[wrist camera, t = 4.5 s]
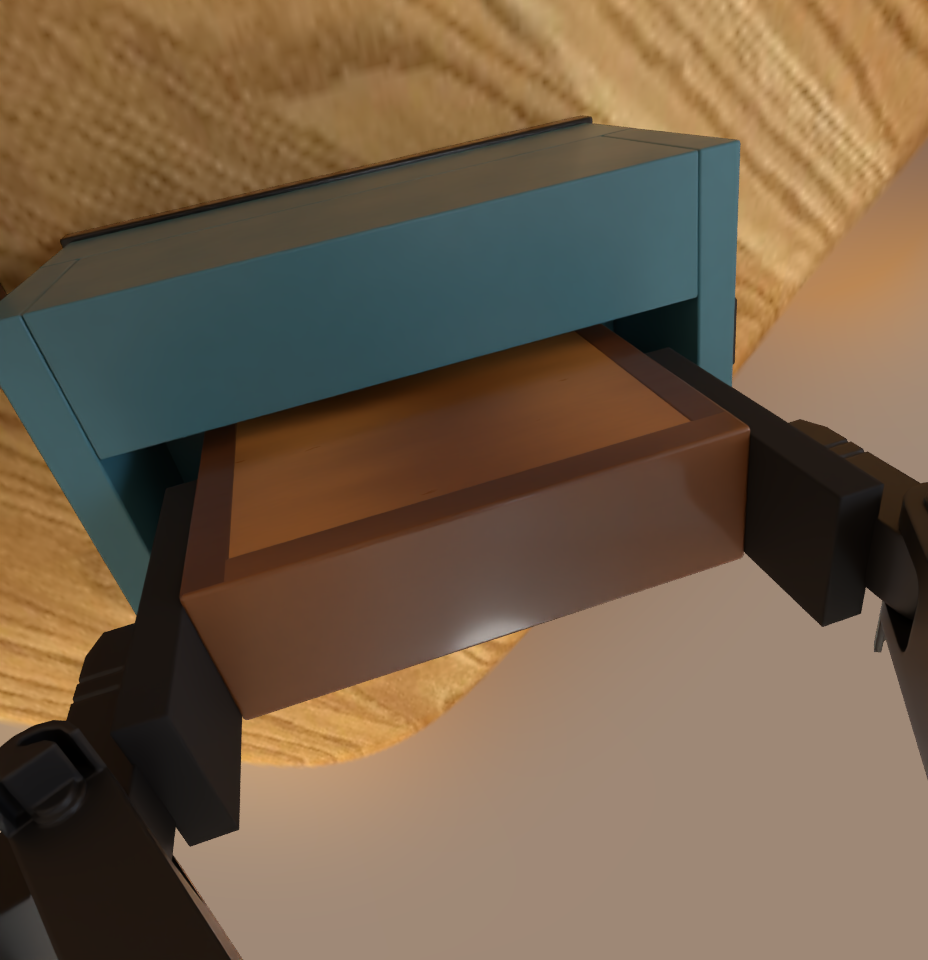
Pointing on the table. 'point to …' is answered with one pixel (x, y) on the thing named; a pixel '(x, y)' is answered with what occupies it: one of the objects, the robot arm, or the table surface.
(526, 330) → the toaster
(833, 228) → the table surface
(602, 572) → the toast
